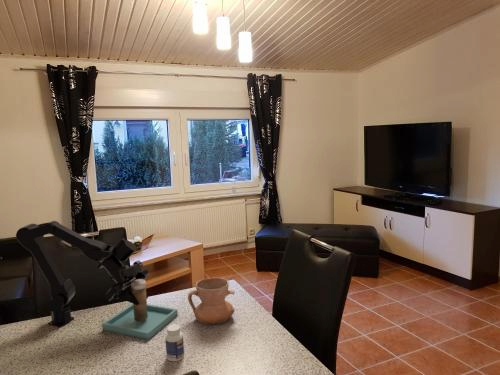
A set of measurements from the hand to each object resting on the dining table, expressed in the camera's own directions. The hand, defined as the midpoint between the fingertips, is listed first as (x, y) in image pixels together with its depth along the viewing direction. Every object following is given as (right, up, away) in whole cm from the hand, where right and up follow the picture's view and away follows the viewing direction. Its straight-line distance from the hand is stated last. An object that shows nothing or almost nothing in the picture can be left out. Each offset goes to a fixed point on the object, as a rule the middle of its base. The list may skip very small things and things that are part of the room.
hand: (142, 301), depth 131 cm
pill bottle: (+16, -11, -20) cm, 28 cm away
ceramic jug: (+25, -8, +3) cm, 27 cm away
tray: (-1, -8, +2) cm, 9 cm away
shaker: (-1, -7, +1) cm, 7 cm away
